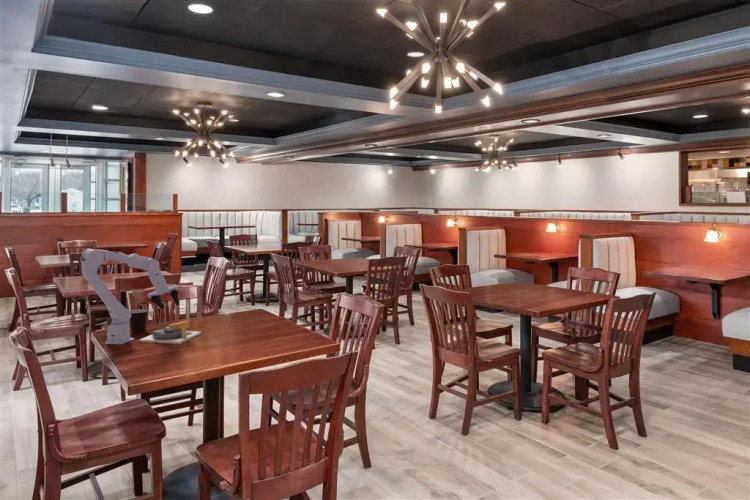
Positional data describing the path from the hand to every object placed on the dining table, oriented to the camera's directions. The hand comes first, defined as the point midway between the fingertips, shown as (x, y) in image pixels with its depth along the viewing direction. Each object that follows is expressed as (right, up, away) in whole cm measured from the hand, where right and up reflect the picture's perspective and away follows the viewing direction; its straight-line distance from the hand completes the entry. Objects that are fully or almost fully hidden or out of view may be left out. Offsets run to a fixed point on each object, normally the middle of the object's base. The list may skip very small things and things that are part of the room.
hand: (170, 306), depth 254 cm
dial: (+4, -12, -8) cm, 15 cm away
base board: (+4, -13, -9) cm, 17 cm away
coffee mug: (-16, -12, +4) cm, 21 cm away
